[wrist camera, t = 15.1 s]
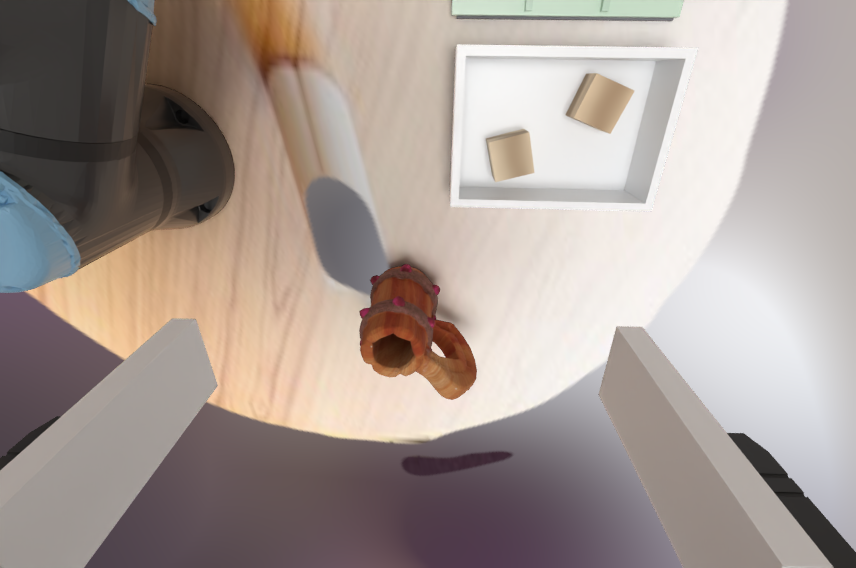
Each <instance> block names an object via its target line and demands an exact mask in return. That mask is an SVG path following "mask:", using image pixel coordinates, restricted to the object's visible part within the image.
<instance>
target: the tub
mask: <svg viewBox="0 0 856 568" xmlns="http://www.w3.org/2000/svg"><path fill="white" fill-rule="evenodd" d="M697 52H698V48H688V47H610V46H533V45H457V46H456V49H455V69H454V95H453V120H452V145H451V171H450V207H478V208H519V209H560V210H601V211H643V212H652V208H653V205H654V201H655V198H656V194H657V191H658V187H659V184H660V180H661V177H662V173H663V170H664V167H665V163H666V160H667V156H668V153H669V149H670V146H671V142H672V139H673V135H674V132H675V128H676V125H677V121H678V118H679V114H680V111H681V107H682V104H683V100H684V97H685V93H686V90H687V87H688V83H689V80H690V76H691V73H692V69H693V66H694V62H695V59H696V55H697ZM588 73H597V74H600V75H602V76H604V77H606V78H608V79H610V80H613V81H615V82H617V83H619V84H621V85H624V86H626V87H628V88H630V89H632V90H634V93H633V95H632V97H631V98H630V100H629V102H628V104H627V105H626V107H625V109H624V111H623V113H622V114H621V116H620V118H619V120H618V121H617V123H616V125H615V127H614V128H613V130H612V132H611V134H609V133H606V132H603V131H600V130H598V129H596V128H593V127H591V126H589V125H586V124H584V123H582V122H580V121H577V120H575V119H573V118H570V117H568V116H566V113H567V111H568V109H569V107H570V105H571V103H572V101H573V99H574V97H575V95H576V93H577V91H578V89H579V87H580V85H581V83H582V81H583V79H584V77H585V75H586V74H588ZM521 129H525V130H527V131H528V132H529V133H530V141H531V149H532V157H533V165H534V173H532V174H528V175H524V176H520V177H515V178H511V179H507V180H503V181H499V182H495V180H494V178H493V176H492V172H491V166H490V160H489V155H488V149H487V143H486V138H490V137H493V136H497V135H501V134H505V133H509V132H513V131H517V130H521Z"/></svg>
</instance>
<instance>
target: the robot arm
mask: <svg viewBox="0 0 856 568" xmlns="http://www.w3.org/2000/svg"><path fill="white" fill-rule="evenodd" d="M156 22H157V19H156V17H155V15H154V0H0V293H12V292H22V291H28V290H31V289H34V288H37V287H39V286H42V285H44V284H46V283H48V282H51V281H53V280H55V279H57V278H62V277H68V276H70V275H72V274H74V273H75V272H77V270H78V269H80V268H82V267H84V266H86V265H88V264H89V263H91V262H93V261H95V260H97V259H99V258H101V257H102V256H104V255H106V254H108V253H110V252H112V251H113V250H115V249H117V248H119V247H121V246H123V245H125V244H126V243H128V242H130V241H132V240H134V239H136V238H138V237H139V236H141V235H143V234H145V233H147V232H149V231H151V230H164V229H181V228H188V227H192V226H195V225H198V224H200V223H202V222H204V221H206V220H207V219H209V218H211V217H212V216H214V215H215V214H217V213H218V212H219V211H220V210H221V209H222V208H223V207H224V206H225V204H226V203H227V201H228V199H229V197H230V195H231V192H232V189H233V183H234V166H233V160H232V156H231V153H230V150H229V147H228V145H227V143H226V140H225V138H224V136H223V135H222V133H221V131H220V130H219V128H218V127H217V125H216V124H215V123H214V121H213V120H212V119H211V118H210V117H209V116H208V114H207V113H206V112H205V111H204V110H203V109H201V108H200V107H199V106H198V105H197V104H196V103H194V102H193V101H192V100H190V99H189V98H187V97H185V96H184V95H182V94H180V93H178V92H176V91H174V90H172V89H169V88H166V87H163V86H159V85H153V84H145V81H146V73H147V65H148V58H149V50H150V42H151V35H152V27H153V25H154V26H156ZM217 386H218V385H217V382H216V379H215V376H214V373H213V370H212V367H211V364H210V361H209V358H208V355H207V351H206V348H205V345H204V342H203V339H202V336H201V333H200V330H199V327H198V324H197V321H196V319H171V320H170V321H169V322H168V323H167V324H165V325H164V326H163V327H162V328H161V329H160V330H159V331H158V332H156V333H155V334H154V335H153V336H152V337H151V338H150V339H149V340H147V341H146V342H145V343H144V344H143V345H142V346H141V347H139V348H138V349H137V350H136V351H135V352H134V353H133V354H132V355H130V356H129V357H128V358H127V359H126V360H125V361H124V362H123V363H121V364H120V365H119V366H118V367H117V368H116V369H115V370H113V371H112V372H111V373H110V374H109V375H108V376H107V377H106V378H104V379H103V380H102V381H101V382H100V383H99V384H98V385H96V386H95V387H94V388H93V389H92V390H91V391H90V392H89V393H87V394H86V395H85V396H84V397H83V398H82V399H81V400H80V401H78V402H77V403H76V404H75V405H74V406H73V407H72V408H71V409H69V410H68V411H67V412H66V413H65V414H64V415H63V416H61V417H58V416H57V417H55V418H54V419H52V420H50V421H49V422H47V423H45V424H44V425H42V426H40V427H39V428H37V429H35V430H34V431H32V432H30V433H29V434H28V435H27V436H25V437H24V438H23V439H22V440H21V441H20V442H18V443H17V444H16V445H15V446H14V447H13V448H11V449H10V450H9V451H8V452H7V455H6V456H2V457H1V458H0V568H84V567H85V565H86V564H87V563H88V561H89V560H90V558H91V557H92V556H93V554H94V553H95V552H96V550H97V549H98V547H99V546H100V545H101V543H102V542H103V541H104V539H105V538H106V537H107V535H108V534H109V533H110V531H111V530H112V529H113V527H114V526H115V525H116V523H117V522H118V520H119V519H120V518H121V516H122V515H123V514H124V512H125V511H126V509H127V508H128V507H129V505H130V504H131V503H132V501H133V500H134V499H135V497H136V496H137V495H138V493H139V492H140V491H141V489H142V488H143V486H144V485H145V484H146V482H147V481H148V480H149V478H150V477H151V476H152V474H153V473H154V472H155V470H156V469H157V467H158V466H159V465H160V463H161V462H162V461H163V459H164V458H165V457H166V455H167V454H168V452H169V451H170V450H171V448H172V447H173V446H174V444H175V443H176V442H177V440H178V439H179V438H180V436H181V435H182V433H183V432H184V431H185V429H186V428H187V427H188V425H189V424H190V422H191V421H192V420H193V419H194V417H195V416H196V414H197V413H198V412H199V410H200V409H201V408H202V406H203V405H204V404H205V402H206V401H207V400H208V398H209V397H210V395H211V394H212V393H213V391H214V390H215V389H216V387H217ZM599 396H600V398H601V400H602V403H603V404H604V406H605V408H606V411H607V413H608V415H609V417H610V419H611V421H612V423H613V425H614V427H615V429H616V431H617V433H618V435H619V437H620V439H621V441H622V443H623V446H624V447H625V449H626V451H627V454H628V456H629V458H630V460H631V462H632V464H633V466H634V468H635V470H636V472H637V474H638V476H639V478H640V480H641V482H642V484H643V486H644V488H645V491H646V492H647V494H648V497H649V499H650V501H651V503H652V505H653V507H654V509H655V511H656V513H657V515H658V517H659V519H660V521H661V523H662V525H663V527H664V529H665V531H666V533H667V536H668V537H669V540H670V542H671V544H672V546H673V548H674V550H675V552H676V554H677V556H678V558H679V560H680V562H681V564H682V566H683V568H856V552H855V551H854V550H853V549H852V548H851V546H850V545H849V544H848V543H847V542H846V541H845V540H844V538H843V537H842V536H841V535H840V534H839V533H838V532H837V530H836V529H835V528H834V527H833V526H832V525H831V524H830V522H829V521H828V520H827V519H826V518H825V517H824V515H823V514H822V513H821V512H820V511H819V510H818V508H817V507H816V506H815V505H814V504H813V503H812V502H811V500H810V499H809V498H808V497H805V496H804V493H803V491H802V490H801V489H800V488H799V486H798V485H797V484H796V483H795V482H794V481H793V480H792V479H791V478H788V474H787V473H786V472H785V470H784V469H783V468H782V467H781V466H780V465H779V464H778V462H777V461H776V460H775V459H774V458H773V457H772V456H771V454H770V453H769V452H768V451H766V450H765V449H764V448H762V447H761V446H760V445H758V444H757V443H756V442H754V441H753V440H752V439H750V438H749V437H748V436H746V435H745V434H743V433H726V432H725V430H724V429H723V428H722V427H721V425H720V424H719V423H718V422H717V420H716V419H715V418H714V417H713V415H712V414H711V413H710V412H709V410H708V409H707V408H706V407H705V405H704V404H703V403H702V401H701V400H700V399H699V398H698V396H697V395H696V394H695V393H694V391H692V389H691V388H690V386H689V385H688V384H687V383H686V381H685V380H684V379H683V378H682V376H681V375H680V374H679V373H678V371H677V370H676V369H675V368H674V366H673V365H672V364H671V363H670V361H669V360H668V359H667V358H666V356H665V355H664V354H663V353H662V352H661V350H660V349H659V347H658V346H657V345H656V344H655V342H654V341H653V340H652V339H651V337H650V336H649V335H648V334H647V332H646V331H645V330H644V329H643V327H616V331H615V335H614V338H613V342H612V346H611V350H610V353H609V357H608V361H607V365H606V369H605V372H604V376H603V380H602V384H601V387H600V391H599Z"/></svg>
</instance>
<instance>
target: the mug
mask: <svg viewBox="0 0 856 568" xmlns="http://www.w3.org/2000/svg"><path fill="white" fill-rule="evenodd" d="M370 281H371V283H372V285H373V287H372V290H371V296H370V298H371V307H370V308H364V309H362V310H361V311H360V316H361V318H362V322H361V325H360V338H361V341H360V346H361V348H360V351H361V355H362V357H363V360H364V361H365V362H366V363H368V364H372V367H373V369H374V371H376V372H377V373H379V374H381V375H384V376H388V377H396V376H397V375H398V374H402V375H404V376H408V375H410V374H412V373H414V372H415V371H416V372H418V373H419V374H421V375H423V376H424V377H425V378H426V379H427V380H428V381H429V382H430V383H431V384H432V386H433V387H434V388H435V389H436V390H437V392H438V393H439V394H440V395H441V396H443V397H445V398H446V399H451V400H453V399H456V398H458V397H460V396H461V395H462V394H464V393H465V392H466V391H467V390H469V389H470V387H471V386H472V385H473V383H474V381H475V380H476V373H477V369H476V364H475V359H474V356H473V354H472V351H471V349H470V347H469V345H468V344H467V342H466V340H465V339H464V337H463V336H462V334H461V333H460V332H459V331H458V329H457V328H456V327H455V326H454V324H452V323H450V322H444V321H439V320H436V316H435V313H436V308H437V303H438V298H437V295H438V294H439V292H440V288H439V286H437V285H433V284H432V283H431V281H430V280H429V279H428V278H427V277H426V276H425V274H423V273H422V272H421V271H420V270H418V269H416V268H413V267H411V266H410V265H408V264H404V265H403V266H402V267H401V266H399V267H394V268H391V269H388V270H387V271H385V272H384V273H383V274H382V275H380V276H377V275H376V276H373V277H372V278H371V280H370ZM432 341H433V342H435V343H436V344H437V346H438V347H439V348H440V349H441V350H442V352H443V353H444V355H445V357H446V358H444V357H440V356H438V355H437V354H435V353H434V352H433V351H432V349H431V346H432Z"/></svg>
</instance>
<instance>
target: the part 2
mask: <svg viewBox="0 0 856 568" xmlns="http://www.w3.org/2000/svg"><path fill="white" fill-rule="evenodd" d="M633 93H634V90H632V89H630V88H628V87H626V86H624V85H621V84H619V83H617V82H615V81H613V80H610V79H608V78H606V77H604V76H602V75H600V74H597V73H588V74H586V75H585V77H584V79H583V81H582V83H581V85H580V87H579V89H578V91H577V93H576V95H575V97H574V99H573V101H572V103H571V105H570V107H569V109H568V111H567V113H566V116H568V117H570V118H573V119H575V120H577V121H580V122H582V123H584V124H586V125H589V126H591V127H593V128H596V129H598V130H600V131H603V132H606V133H609V134H611V132H612V130H613V128H614V127H615V125H616V123H617V121H618V120H619V118H620V116H621V114H622V113H623V111H624V109H625V107H626V105H627V104H628V102H629V100H630V98H631V97H632V95H633Z"/></svg>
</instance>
